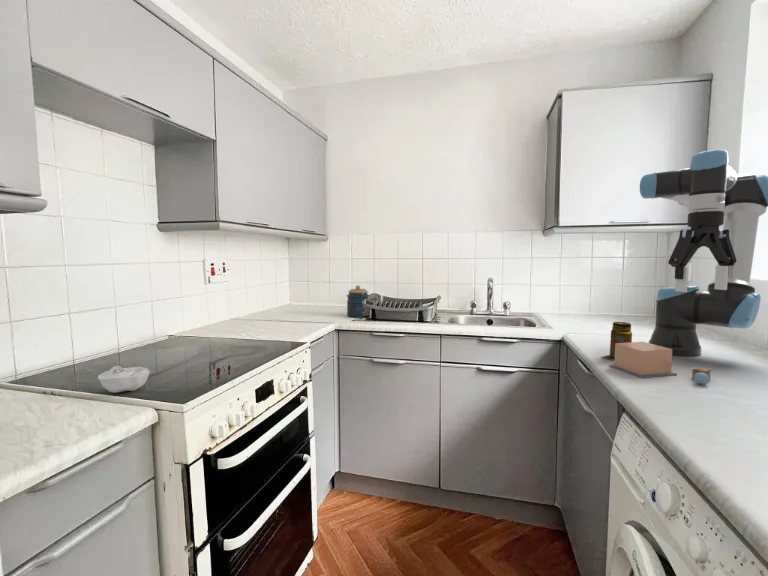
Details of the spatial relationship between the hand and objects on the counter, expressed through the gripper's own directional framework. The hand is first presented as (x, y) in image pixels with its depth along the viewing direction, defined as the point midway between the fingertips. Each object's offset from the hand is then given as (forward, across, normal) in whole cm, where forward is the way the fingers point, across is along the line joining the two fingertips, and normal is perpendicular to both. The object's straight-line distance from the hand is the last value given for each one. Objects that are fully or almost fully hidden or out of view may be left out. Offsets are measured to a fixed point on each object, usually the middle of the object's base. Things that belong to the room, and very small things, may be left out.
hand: (701, 290), depth 105 cm
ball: (+23, -3, -4) cm, 24 cm away
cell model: (+24, -152, +29) cm, 157 cm away
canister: (+25, -73, +134) cm, 155 cm away
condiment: (+25, -3, +23) cm, 34 cm away
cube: (+25, +1, 0) cm, 25 cm away
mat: (+25, -8, +10) cm, 28 cm away
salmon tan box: (+24, -7, +10) cm, 27 cm away
